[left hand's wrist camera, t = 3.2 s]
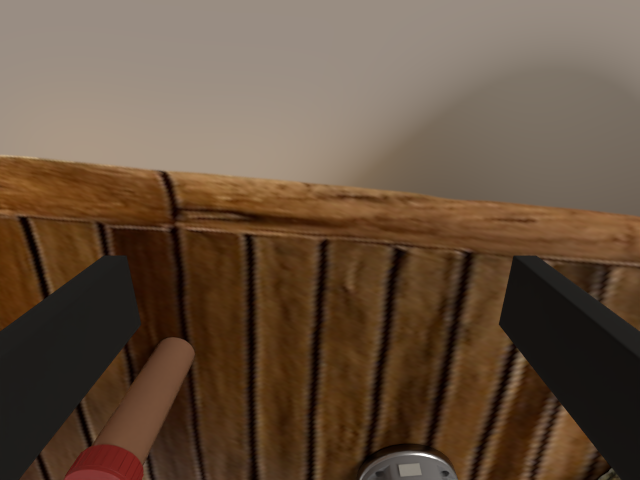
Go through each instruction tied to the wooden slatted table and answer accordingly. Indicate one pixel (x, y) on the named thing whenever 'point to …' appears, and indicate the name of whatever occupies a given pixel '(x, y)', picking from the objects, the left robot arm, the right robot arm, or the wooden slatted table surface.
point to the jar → (149, 399)
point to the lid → (105, 464)
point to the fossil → (610, 476)
